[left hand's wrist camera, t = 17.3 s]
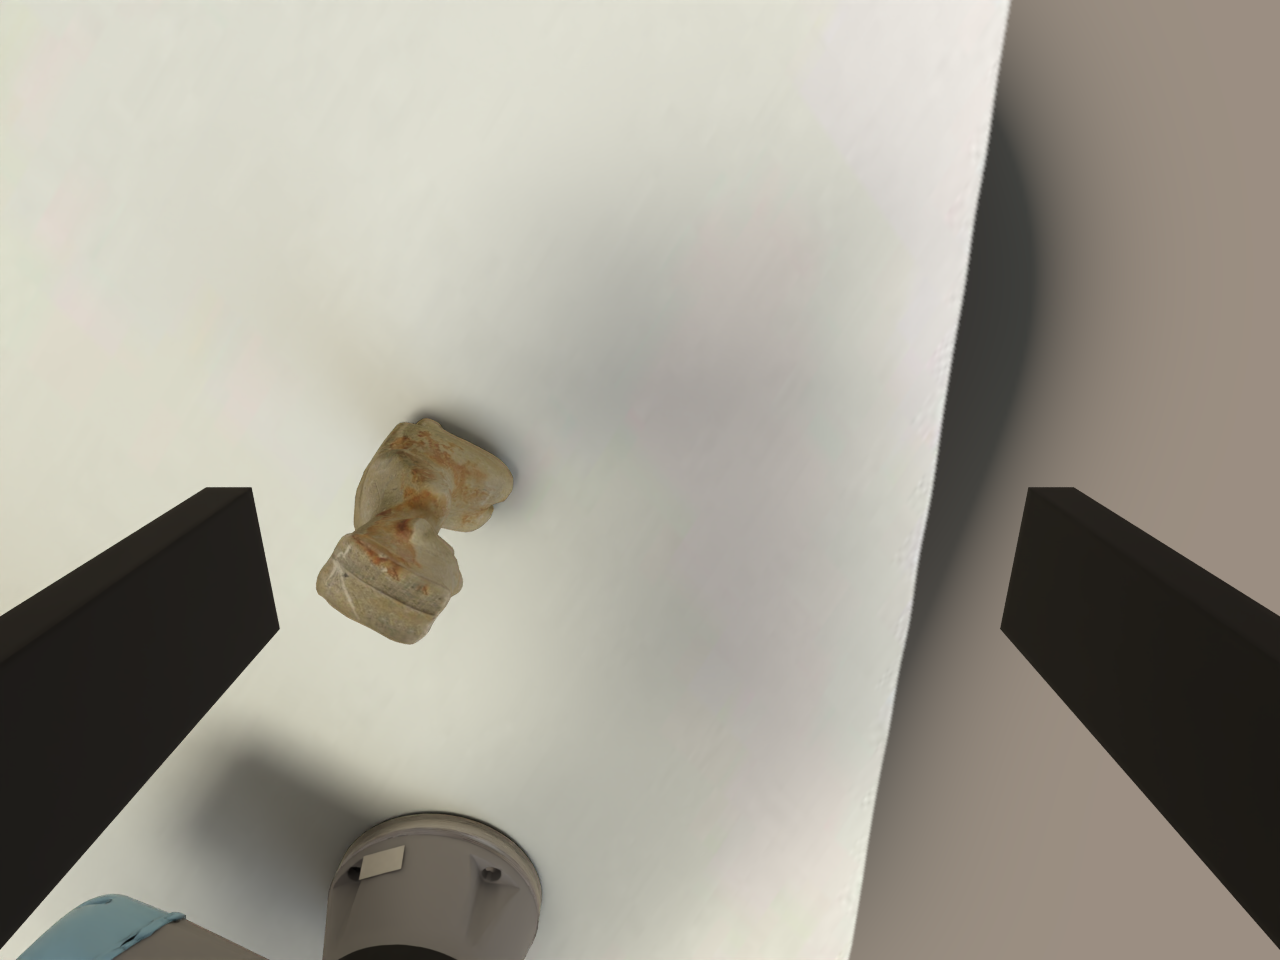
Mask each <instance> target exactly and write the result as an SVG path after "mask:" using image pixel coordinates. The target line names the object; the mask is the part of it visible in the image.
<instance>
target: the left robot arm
mask: <svg viewBox="0 0 1280 960" xmlns="http://www.w3.org/2000/svg"><path fill="white" fill-rule="evenodd" d="M279 629H280V628H279V623H278V618H277V613H276V608H275V603H274V597H273V592H272V587H271V582H270V577H269V572H268V567H267V562H266V557H265V552H264V547H263V542H262V537H261V532H260V527H259V522H258V517H257V512H256V507H255V502H254V497H253V492H252V487H206V488H204V489H203V490H201V491H200V492H198V493H196V494H195V495H193V496H192V497H190V498H188V499H187V500H185V501H184V502H182V503H180V504H179V505H177V506H176V507H174V508H172V509H171V510H169V511H168V512H166V513H165V514H163V515H161V516H160V517H158V518H157V519H155V520H153V521H152V522H150V523H149V524H147V525H145V526H144V527H142V528H141V529H139V530H137V531H136V532H134V533H133V534H131V535H129V536H128V537H126V538H125V539H123V540H121V541H120V542H118V543H117V544H115V545H113V546H112V547H110V548H109V549H107V550H105V551H104V552H102V553H101V554H99V555H97V556H96V557H94V558H93V559H91V560H90V561H88V562H86V563H85V564H83V565H82V566H80V567H78V568H77V569H75V570H74V571H72V572H70V573H69V574H67V575H66V576H64V577H62V578H61V579H59V580H58V581H56V582H54V583H53V584H51V585H50V586H48V587H46V588H45V589H43V590H42V591H40V592H38V593H37V594H35V595H34V596H32V597H30V598H29V599H27V600H26V601H24V602H22V603H21V604H19V605H18V606H16V607H14V608H13V609H11V610H10V611H8V612H7V613H5V614H3V615H2V616H0V949H1V948H2V947H3V946H4V945H5V944H6V942H7V941H8V940H9V939H10V938H11V937H12V936H13V934H14V933H15V932H16V931H17V930H18V929H19V927H20V926H21V925H22V924H23V923H24V922H25V921H26V919H27V918H28V917H29V916H30V915H31V914H32V913H33V911H34V910H35V909H36V908H37V907H38V906H39V905H40V903H41V902H42V901H43V900H44V899H45V898H46V897H47V895H48V894H49V893H50V892H51V891H52V890H53V888H54V887H55V886H56V885H57V884H58V883H59V882H60V880H61V879H62V878H63V877H64V876H65V875H66V874H67V872H68V871H69V870H70V869H71V868H72V867H73V866H74V864H75V863H76V862H77V861H78V860H79V859H80V858H81V856H82V855H83V854H84V853H85V852H86V851H87V849H88V848H89V847H90V846H91V845H92V844H93V843H94V841H95V840H96V839H97V838H98V837H99V836H100V835H101V833H102V832H103V831H104V830H105V829H106V828H107V827H108V825H109V824H110V823H111V822H112V821H113V820H114V819H115V817H116V816H117V815H118V814H119V813H120V812H121V810H122V809H123V808H124V807H125V806H126V805H127V804H128V802H129V801H130V800H131V799H132V798H133V797H134V796H135V794H136V793H137V792H138V791H139V790H140V789H141V788H142V786H143V785H144V784H145V783H146V782H147V781H148V779H149V778H150V777H151V776H152V775H153V774H154V773H155V771H156V770H157V769H158V768H159V767H160V766H161V765H162V763H163V762H164V761H165V760H166V759H167V758H168V757H169V755H170V754H171V753H172V752H173V751H174V750H175V749H176V747H177V746H178V745H179V744H180V743H181V742H182V740H183V739H184V738H185V737H186V736H187V735H188V734H189V732H190V731H191V730H192V729H193V728H194V727H195V726H196V724H197V723H198V722H199V721H200V720H201V719H202V718H203V716H204V715H205V714H206V713H207V712H208V711H209V710H210V708H211V707H212V706H213V705H214V704H215V703H216V701H217V700H218V699H219V698H220V697H221V696H222V695H223V693H224V692H225V691H226V690H227V689H228V688H229V687H230V685H231V684H232V683H233V682H234V681H235V680H236V679H237V677H238V676H239V675H240V674H241V673H242V672H243V670H244V669H245V668H246V667H247V666H248V665H249V664H250V662H251V661H252V660H253V659H254V658H255V657H256V656H257V654H258V653H259V652H260V651H261V650H262V649H263V648H264V646H265V645H266V644H267V643H268V642H269V641H270V640H271V638H272V637H273V636H274V635H275V634H276V633H277V631H278V630H279ZM1000 629H1001V630H1002V631H1003V633H1004V634H1005V635H1006V636H1007V637H1008V638H1009V639H1010V641H1011V642H1012V643H1013V644H1014V645H1015V646H1016V648H1017V649H1018V650H1019V651H1020V652H1021V653H1022V654H1023V656H1024V657H1025V658H1026V659H1027V660H1028V661H1029V662H1030V664H1031V665H1032V666H1033V667H1034V668H1035V669H1036V671H1037V672H1038V673H1039V674H1040V675H1041V676H1042V677H1043V679H1044V680H1045V681H1046V682H1047V683H1048V684H1049V685H1050V687H1051V688H1052V689H1053V690H1054V691H1055V692H1056V693H1057V695H1058V696H1059V697H1060V698H1061V699H1062V700H1063V701H1064V703H1065V704H1066V705H1067V706H1068V707H1069V708H1070V710H1071V711H1072V712H1073V713H1074V714H1075V715H1076V716H1077V718H1078V719H1079V720H1080V721H1081V722H1082V723H1083V724H1084V725H1085V727H1086V728H1087V729H1088V730H1089V731H1090V732H1091V734H1092V735H1093V736H1094V737H1095V738H1096V739H1097V740H1098V742H1099V743H1100V744H1101V745H1102V746H1103V747H1104V749H1105V750H1106V751H1107V752H1108V753H1109V754H1110V755H1111V757H1112V758H1113V759H1114V760H1115V761H1116V762H1117V763H1118V765H1119V766H1120V767H1121V768H1122V769H1123V770H1124V771H1125V773H1126V774H1127V775H1128V776H1129V777H1130V778H1131V779H1132V781H1133V782H1134V783H1135V784H1136V785H1137V786H1138V788H1139V789H1140V790H1141V791H1142V792H1143V793H1144V794H1145V796H1146V797H1147V798H1148V799H1149V800H1150V801H1151V802H1152V804H1153V805H1154V806H1155V807H1156V808H1157V809H1158V810H1159V812H1160V813H1161V814H1162V815H1163V816H1164V817H1165V818H1166V820H1167V821H1168V822H1169V823H1170V824H1171V825H1172V827H1173V828H1174V829H1175V830H1176V831H1177V832H1178V833H1179V835H1180V836H1181V837H1182V838H1183V839H1184V840H1185V841H1186V843H1187V844H1188V845H1189V846H1190V847H1191V848H1192V849H1193V851H1194V852H1195V853H1196V854H1197V855H1198V856H1199V858H1200V859H1201V860H1202V861H1203V862H1204V863H1205V864H1206V866H1207V867H1208V868H1209V869H1210V870H1211V871H1212V872H1213V874H1214V875H1215V876H1216V877H1217V878H1218V879H1219V880H1220V882H1221V883H1222V884H1223V885H1224V886H1225V887H1226V888H1227V890H1228V891H1229V892H1230V893H1231V894H1232V895H1233V897H1234V898H1235V899H1236V900H1237V901H1238V902H1239V903H1240V905H1241V906H1242V907H1243V908H1244V909H1245V910H1246V911H1247V913H1248V914H1249V915H1250V916H1251V917H1252V918H1253V919H1254V921H1255V922H1256V923H1257V924H1258V925H1259V926H1260V927H1261V929H1262V930H1263V931H1264V932H1265V933H1266V934H1267V936H1268V937H1269V938H1270V939H1271V940H1272V941H1273V942H1274V943H1275V945H1276V946H1277V947H1278V948H1279V949H1280V616H1278V615H1277V614H1275V613H1273V612H1272V611H1270V610H1269V609H1267V608H1265V607H1264V606H1262V605H1261V604H1259V603H1257V602H1256V601H1254V600H1253V599H1251V598H1250V597H1248V596H1246V595H1245V594H1243V593H1242V592H1240V591H1238V590H1237V589H1235V588H1234V587H1232V586H1230V585H1229V584H1227V583H1226V582H1224V581H1222V580H1221V579H1219V578H1218V577H1216V576H1214V575H1213V574H1211V573H1210V572H1208V571H1206V570H1205V569H1203V568H1202V567H1200V566H1198V565H1197V564H1195V563H1194V562H1192V561H1190V560H1189V559H1187V558H1186V557H1184V556H1183V555H1181V554H1179V553H1178V552H1176V551H1175V550H1173V549H1171V548H1170V547H1168V546H1167V545H1165V544H1163V543H1162V542H1160V541H1159V540H1157V539H1155V538H1154V537H1152V536H1151V535H1149V534H1147V533H1146V532H1144V531H1143V530H1141V529H1139V528H1138V527H1136V526H1135V525H1133V524H1131V523H1130V522H1128V521H1127V520H1125V519H1123V518H1122V517H1120V516H1119V515H1117V514H1115V513H1114V512H1112V511H1111V510H1109V509H1107V508H1106V507H1104V506H1103V505H1101V504H1099V503H1098V502H1096V501H1095V500H1093V499H1092V498H1090V497H1088V496H1087V495H1085V494H1084V493H1082V492H1080V491H1079V490H1077V489H1076V488H1074V487H1029V488H1028V492H1027V497H1026V502H1025V507H1024V512H1023V517H1022V522H1021V527H1020V532H1019V537H1018V543H1017V547H1016V552H1015V557H1014V563H1013V567H1012V573H1011V577H1010V582H1009V587H1008V592H1007V598H1006V602H1005V608H1004V613H1003V618H1002V623H1001V628H1000ZM541 901H542V891H541V884H540V881H539V877H538V875H537V872H536V870H535V868H534V866H533V864H532V863H531V861H530V860H529V858H528V857H527V856H526V854H525V853H524V852H523V851H522V850H521V849H520V848H519V847H518V846H517V845H516V844H515V843H514V842H512V841H511V840H510V839H509V838H507V837H506V836H504V835H503V834H501V833H500V832H498V831H496V830H494V829H492V828H491V827H488V826H486V825H484V824H482V823H479V822H476V821H473V820H470V819H466V818H463V817H458V816H453V815H445V814H414V815H407V816H402V817H398V818H395V819H391V820H388V821H386V822H383V823H381V824H379V825H377V826H375V827H373V828H371V829H369V830H368V831H366V832H365V833H364V834H362V835H361V836H360V837H359V838H358V839H357V840H356V841H355V842H354V843H353V844H352V845H351V846H350V847H349V849H348V850H347V852H346V853H345V855H344V857H343V859H342V861H341V863H340V865H339V867H338V870H337V872H336V874H335V876H334V878H333V881H332V883H331V886H330V889H329V894H328V906H327V917H326V927H325V938H324V949H323V960H524V958H525V956H526V954H527V952H528V950H529V948H530V946H531V945H532V943H533V941H534V938H535V936H536V933H537V929H538V922H539V915H540V908H541ZM16 960H269V959H267V958H264V957H262V956H260V955H258V954H256V953H254V952H252V951H250V950H248V949H246V948H244V947H242V946H240V945H238V944H236V943H234V942H232V941H229V940H227V939H225V938H223V937H221V936H219V935H217V934H215V933H213V932H211V931H209V930H207V929H205V928H203V927H201V926H199V925H197V924H195V923H192V922H190V921H188V920H186V915H184V914H182V913H179V912H172V913H167V912H165V911H162V910H160V909H157V908H155V907H152V906H150V905H148V904H145V903H143V902H140V901H138V900H135V899H133V898H130V897H128V896H124V895H119V894H108V895H103V896H99V897H96V898H93V899H91V900H88V901H86V902H84V903H83V904H81V905H79V906H78V907H76V908H75V909H73V910H72V911H71V912H69V913H68V914H66V915H65V916H64V917H62V918H61V919H60V920H59V921H58V922H56V923H55V924H54V925H53V926H52V927H51V928H49V929H48V930H47V931H46V932H45V933H44V934H43V935H42V936H41V937H39V938H38V939H37V940H36V941H35V942H34V943H33V944H32V945H31V946H30V947H29V948H28V949H27V950H26V951H24V952H23V953H22V954H21V955H20V956H19V957H18V958H17V959H16Z"/></svg>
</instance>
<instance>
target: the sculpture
mask: <svg viewBox="0 0 1280 960" xmlns="http://www.w3.org/2000/svg"><path fill="white" fill-rule="evenodd" d="M512 488H513V477H512V474H511V472H510V471H509V469H508V468H507V466H506V465H505V464H504V463H503V462H502V461H501V460H500V459H498V458H497V457H496V456H494V455H493V454H491V453H489V452H487V451H486V450H484V449H482V448H480V447H478V446H476V445H474V444H472V443H470V442H468V441H466V440H464V439H461V438H459V437H457V436H455V435H453V434H451V433H449V432H447V431H445V430H444V429H442V426H441V425H440V424H439V423H438V422H436V421H434V420H431V419H428V418H424V419H422V420H420V421H419V422H417V423H416V424H412V423H407V422H403V423H399V424H398V425H397V426H396V427H395V428H394V429H393V430H392V432H391V433H390V434H389V435H388V436H387V438H386V439H385V440H384V442H383V443H382V445H381V446H380V448H379V449H378V451H377V452H376V454H375V455H374V457H373V458H372V460H371V462H370V463H369V465H368V466H367V468H366V469H365V471H364V473H363V476H362V478H361V481H360V483H359V486H358V488H357V492H356V496H355V509H354V527H355V531H354V532H353V533H349V534H346V535H345V536H343V537H342V538H341V539H340V541H339V542H338V544H337V546H336V547H335V549H334V552H333V553H332V555H331V557H330V558H329V560H328V561H327V563H326V564H325V565H324V566H323V568H322V569H321V571H320V573H319V575H318V577H317V582H316V590H317V592H318V594H319V595H320V596H322V597H323V598H324V599H326V601H327V602H328V603H329V604H330V605H331V606H332V607H333V608H335V609H336V610H338V611H339V612H341V613H342V614H343V615H345V616H346V617H348V618H350V619H352V620H354V621H356V622H358V623H360V624H362V625H364V626H366V627H369V628H371V629H372V630H374V631H376V632H378V633H380V634H381V635H383V636H385V637H387V638H389V639H390V640H393V641H396V642H399V643H403V644H414V643H416V642H417V641H419V640H420V639H422V638H423V637H424V636H425V635H426V634H427V633H428V632H429V630H430V628H431V626H432V624H433V622H434V621H435V619H436V617H437V616H438V615H439V614H440V613H441V612H442V610H443V609H444V608H445V607H446V605H447V603H448V602H449V600H450V598H451V597H452V596H453V595H455V594H457V593H458V592H459V591H460V590H461V588H462V586H463V579H462V575H461V573H460V570H459V566H458V562H457V559H456V558H455V556H454V550H453V548H452V547H451V546H450V545H449V544H448V543H447V542H446V541H444V540H443V539H442V538H441V537H440V536H438V535H437V534H438V532H439V531H440V529H441V528H445V529H449V530H454V531H460V532H470V531H474V530H476V529H478V528H480V527H481V526H482V525H484V524H485V523H486V522H487V521H488V520H489V519H490V517H491V515H492V512H493V510H494V508H493V504H495V503H499V502H503V501H504V500H505V499H506V498H507V497H508V495H509V494H510V493H511V491H512Z"/></svg>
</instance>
